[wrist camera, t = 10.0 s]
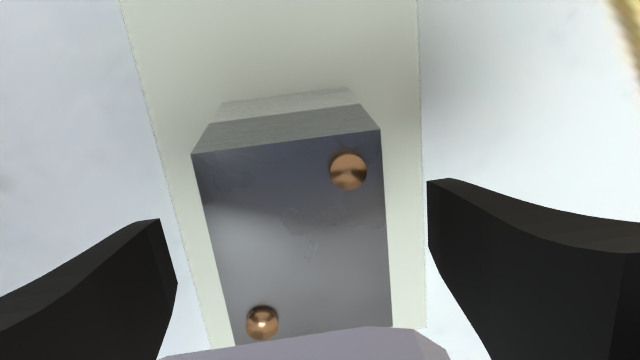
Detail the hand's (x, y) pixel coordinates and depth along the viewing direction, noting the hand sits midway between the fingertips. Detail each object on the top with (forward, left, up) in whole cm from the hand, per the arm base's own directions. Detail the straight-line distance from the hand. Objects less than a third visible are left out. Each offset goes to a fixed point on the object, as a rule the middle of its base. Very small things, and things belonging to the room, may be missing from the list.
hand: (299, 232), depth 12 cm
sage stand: (0, 0, -8) cm, 8 cm away
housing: (0, 0, -6) cm, 6 cm away
